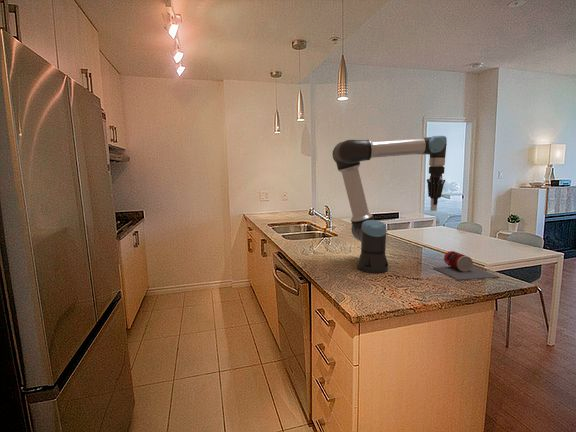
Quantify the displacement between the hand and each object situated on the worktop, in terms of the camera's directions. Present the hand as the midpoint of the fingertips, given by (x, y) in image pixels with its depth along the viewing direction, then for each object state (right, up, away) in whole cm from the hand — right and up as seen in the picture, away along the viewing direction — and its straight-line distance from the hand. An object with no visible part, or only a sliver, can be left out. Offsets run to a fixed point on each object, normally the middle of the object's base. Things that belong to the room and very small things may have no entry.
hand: (433, 210), depth 172 cm
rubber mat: (+6, -30, -20) cm, 36 cm away
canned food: (+4, -24, -10) cm, 26 cm away
